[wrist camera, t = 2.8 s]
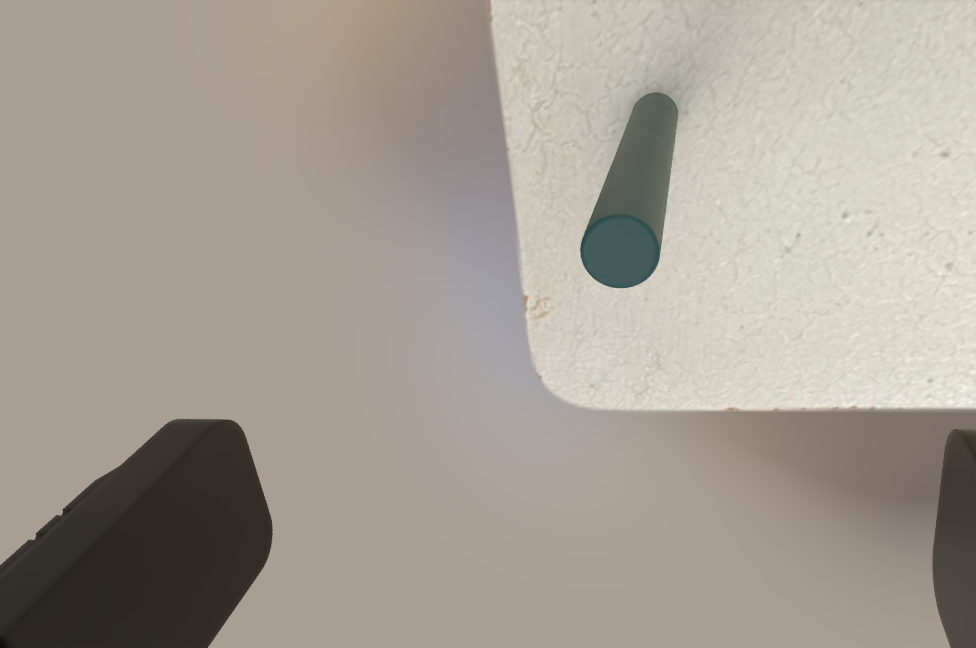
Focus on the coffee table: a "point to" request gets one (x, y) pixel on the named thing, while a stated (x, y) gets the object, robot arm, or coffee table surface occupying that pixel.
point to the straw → (633, 198)
